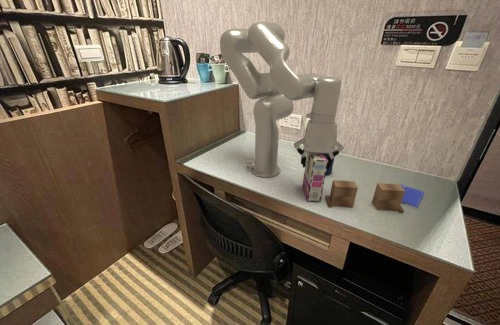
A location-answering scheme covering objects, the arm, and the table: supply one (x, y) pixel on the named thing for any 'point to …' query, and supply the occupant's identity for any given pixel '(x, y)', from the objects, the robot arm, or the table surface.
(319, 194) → the candy bar box
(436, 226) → the table surface
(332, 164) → the soda can
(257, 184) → the table surface
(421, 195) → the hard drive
